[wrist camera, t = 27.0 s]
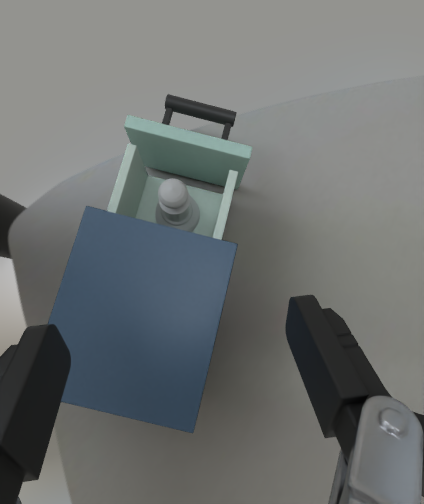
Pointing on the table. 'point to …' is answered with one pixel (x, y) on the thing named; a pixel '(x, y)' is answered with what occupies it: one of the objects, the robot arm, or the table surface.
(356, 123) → the table surface
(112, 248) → the blue drawer cabinet
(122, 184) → the drawer
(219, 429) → the table surface
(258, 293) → the table surface
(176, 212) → the chess piece
